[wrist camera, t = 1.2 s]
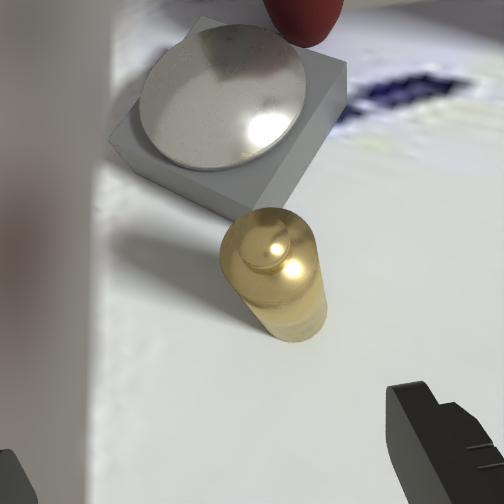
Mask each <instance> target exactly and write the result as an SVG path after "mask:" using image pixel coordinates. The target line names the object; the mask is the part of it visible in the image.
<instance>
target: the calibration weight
mask: <svg viewBox="0 0 504 504" xmlns="http://www.w3.org/2000/svg"><path fill="white" fill-rule="evenodd" d="M220 264H221V268H222V271H223V273H224V275H225V277H226V279H227V280H228V282H229V283H230V284H231V285H232V287H233V288H234V289H235V290H236V292H237V293H238V294H239V295H240V297H241V298H242V299H243V300H244V302H245V303H246V304H247V305H248V307H249V308H250V309H251V310H252V312H253V313H254V314H255V315H256V317H257V318H258V319H259V320H260V322H261V323H262V324H263V325H264V327H265V328H266V329H267V330H268V331H269V333H270V334H272V335H273V336H274V337H276V338H277V339H279V340H282V341H285V342H292V343H295V342H302V341H305V340H307V339H309V338H311V337H313V336H314V335H315V334H316V333H318V331H319V330H320V329H321V328H322V326H323V324H324V322H325V320H326V316H327V302H326V297H325V291H324V285H323V280H322V274H321V269H320V263H319V258H318V252H317V247H316V242H315V238H314V235H313V232H312V230H311V229H310V227H309V226H308V224H307V223H306V222H305V221H304V220H303V219H302V218H301V217H299V216H298V215H297V214H295V213H293V212H291V211H289V210H286V209H282V208H276V207H266V208H260V209H256V210H253V211H250V212H248V213H246V214H244V215H243V216H241V217H240V218H239V219H237V220H236V221H235V222H234V223H233V224H232V225H231V226H230V228H229V229H228V231H227V232H226V234H225V236H224V238H223V241H222V244H221V247H220Z"/></svg>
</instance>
